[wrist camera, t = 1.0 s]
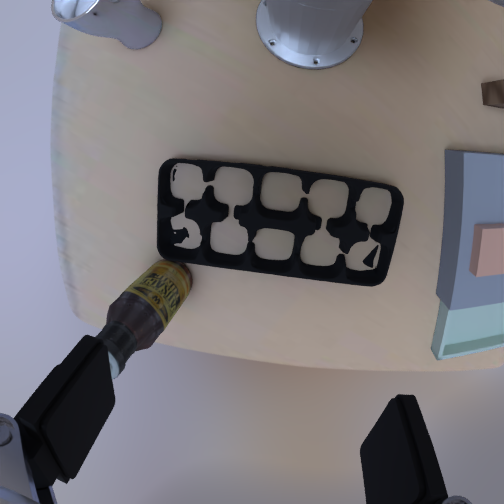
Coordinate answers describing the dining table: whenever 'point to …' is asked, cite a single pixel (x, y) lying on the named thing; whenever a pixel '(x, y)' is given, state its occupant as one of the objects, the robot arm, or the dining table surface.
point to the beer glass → (111, 20)
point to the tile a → (487, 250)
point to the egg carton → (276, 226)
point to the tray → (468, 330)
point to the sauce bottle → (144, 311)
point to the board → (469, 226)
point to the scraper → (493, 93)
